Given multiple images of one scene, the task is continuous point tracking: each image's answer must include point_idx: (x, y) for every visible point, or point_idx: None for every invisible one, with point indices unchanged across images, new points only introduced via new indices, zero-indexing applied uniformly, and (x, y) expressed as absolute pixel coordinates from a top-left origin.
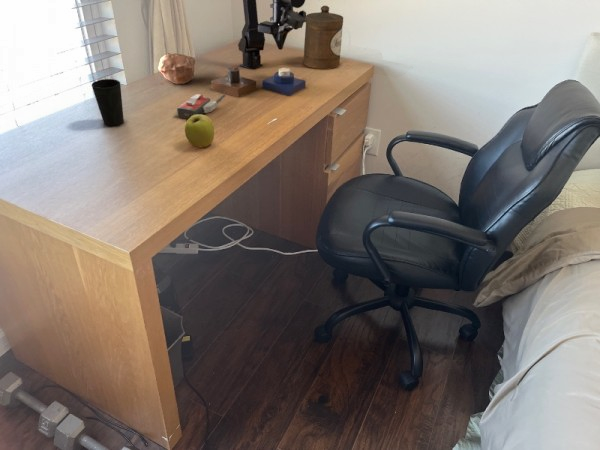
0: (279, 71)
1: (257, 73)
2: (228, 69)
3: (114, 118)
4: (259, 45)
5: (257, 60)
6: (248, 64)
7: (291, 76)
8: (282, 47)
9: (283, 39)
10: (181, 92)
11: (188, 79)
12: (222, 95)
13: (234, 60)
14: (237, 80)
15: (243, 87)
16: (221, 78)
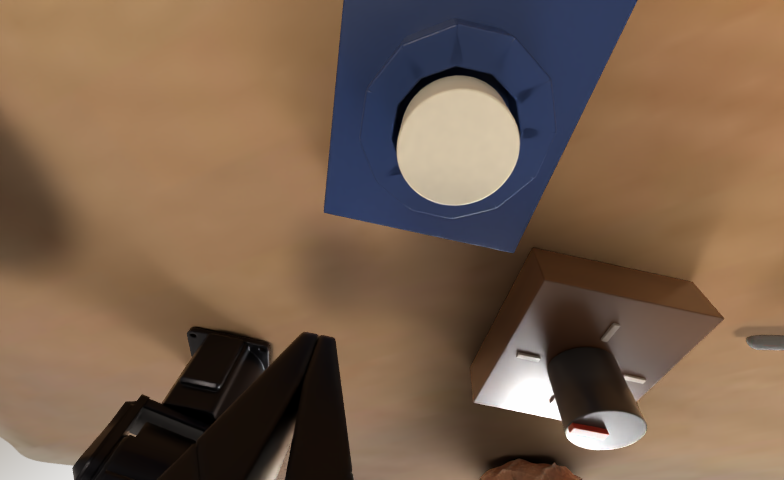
0: (500, 180)
1: (298, 313)
2: (614, 447)
3: None
4: (166, 440)
5: (221, 365)
6: (258, 374)
7: (493, 37)
8: (302, 348)
9: (253, 472)
10: (648, 449)
11: (553, 471)
12: (777, 348)
13: None
14: (609, 359)
15: (672, 304)
16: (556, 411)
